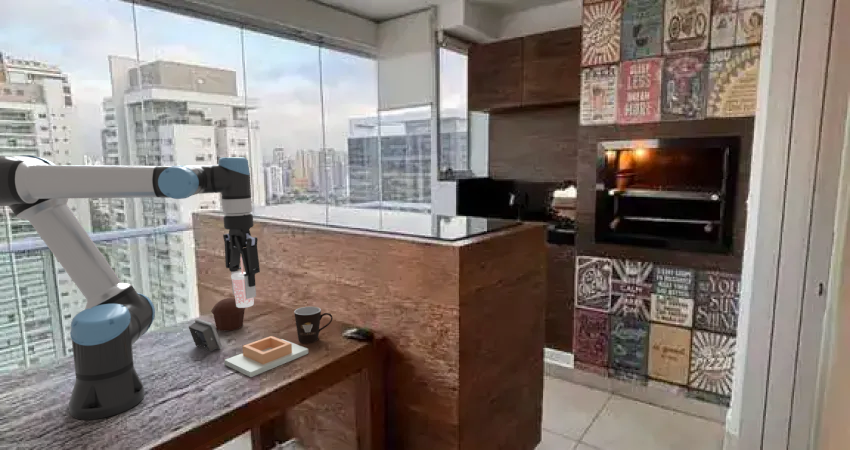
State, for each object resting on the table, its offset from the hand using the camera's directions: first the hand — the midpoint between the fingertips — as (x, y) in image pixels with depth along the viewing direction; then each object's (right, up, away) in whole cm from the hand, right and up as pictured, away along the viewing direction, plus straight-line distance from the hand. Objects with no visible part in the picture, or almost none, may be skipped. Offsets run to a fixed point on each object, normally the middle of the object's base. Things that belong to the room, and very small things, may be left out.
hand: (244, 295), depth 130 cm
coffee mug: (+13, -19, +24) cm, 33 cm away
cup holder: (+3, -21, +9) cm, 23 cm away
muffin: (-19, -17, +36) cm, 44 cm away
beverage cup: (0, -3, 0) cm, 3 cm away
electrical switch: (-18, -20, +17) cm, 32 cm away
